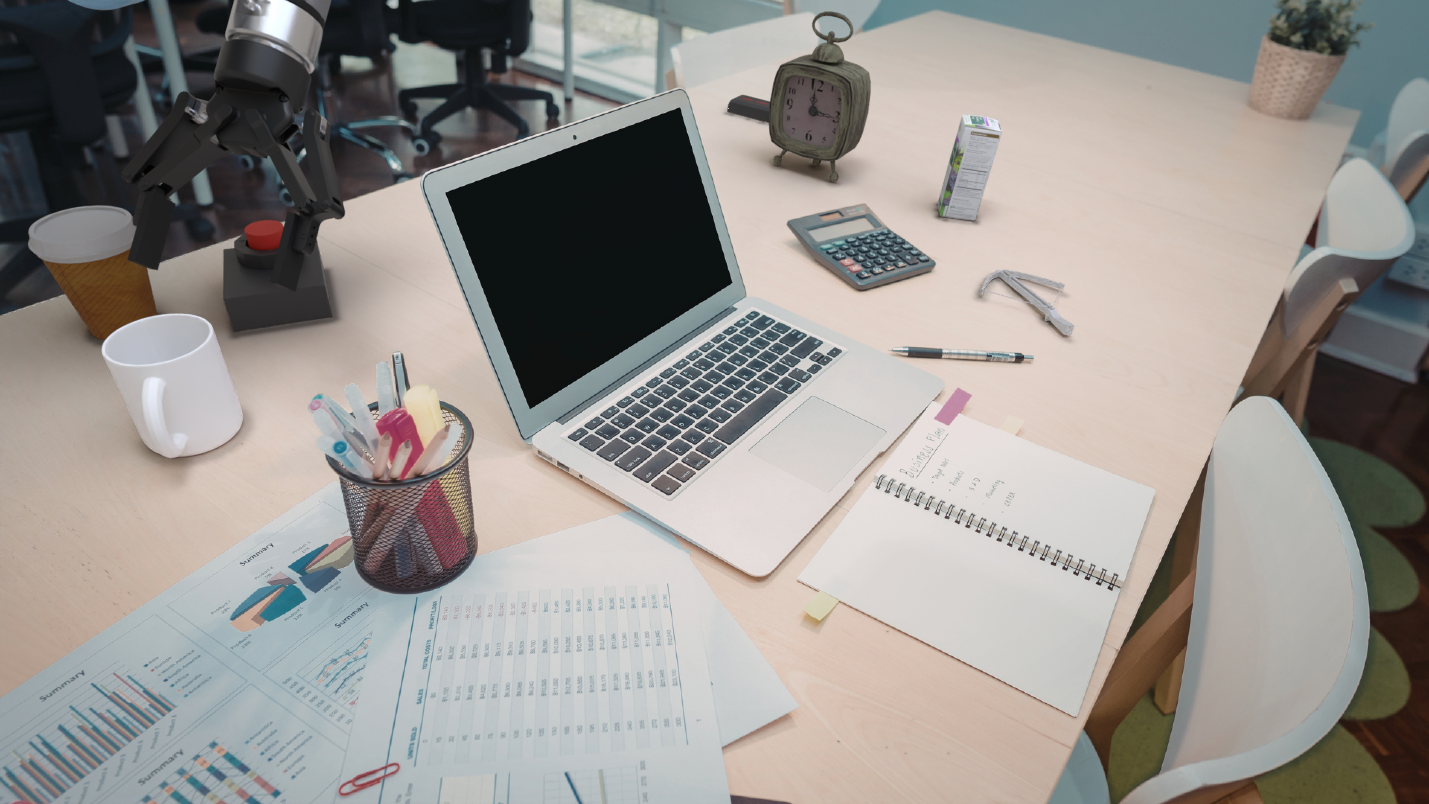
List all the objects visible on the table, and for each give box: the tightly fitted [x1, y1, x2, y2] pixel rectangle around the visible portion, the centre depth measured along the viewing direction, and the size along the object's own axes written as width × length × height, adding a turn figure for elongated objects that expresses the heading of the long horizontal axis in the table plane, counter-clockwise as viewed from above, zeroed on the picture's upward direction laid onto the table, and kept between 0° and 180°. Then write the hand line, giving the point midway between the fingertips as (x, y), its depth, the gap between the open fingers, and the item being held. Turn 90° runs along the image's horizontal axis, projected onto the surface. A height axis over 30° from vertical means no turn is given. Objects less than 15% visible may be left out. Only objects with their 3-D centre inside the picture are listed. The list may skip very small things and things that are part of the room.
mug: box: [101, 313, 244, 459], centre depth 71 cm, size 12×8×10 cm
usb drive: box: [726, 94, 770, 123], centre depth 159 cm, size 5×12×3 cm, turn 59°
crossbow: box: [979, 268, 1075, 336], centre depth 107 cm, size 16×13×2 cm
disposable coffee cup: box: [27, 204, 159, 341], centre depth 85 cm, size 10×10×12 cm
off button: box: [244, 219, 284, 250], centre depth 93 cm, size 4×4×2 cm
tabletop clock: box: [768, 10, 872, 183], centre depth 132 cm, size 14×9×25 cm, turn 58°
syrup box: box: [937, 114, 1003, 222], centre depth 125 cm, size 6×6×14 cm
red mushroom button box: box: [222, 233, 334, 333], centre depth 93 cm, size 12×10×6 cm
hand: (212, 276), depth 73 cm, fingers open, 13 cm apart
